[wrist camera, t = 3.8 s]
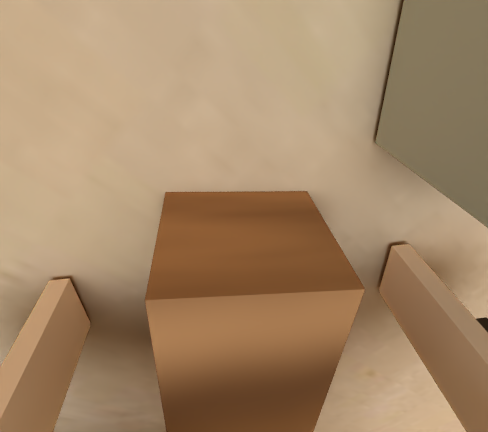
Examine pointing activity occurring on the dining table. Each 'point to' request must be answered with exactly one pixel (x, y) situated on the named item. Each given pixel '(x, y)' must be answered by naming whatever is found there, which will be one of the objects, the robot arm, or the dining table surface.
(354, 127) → the dining table surface
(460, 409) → the robot arm
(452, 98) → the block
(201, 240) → the peg
